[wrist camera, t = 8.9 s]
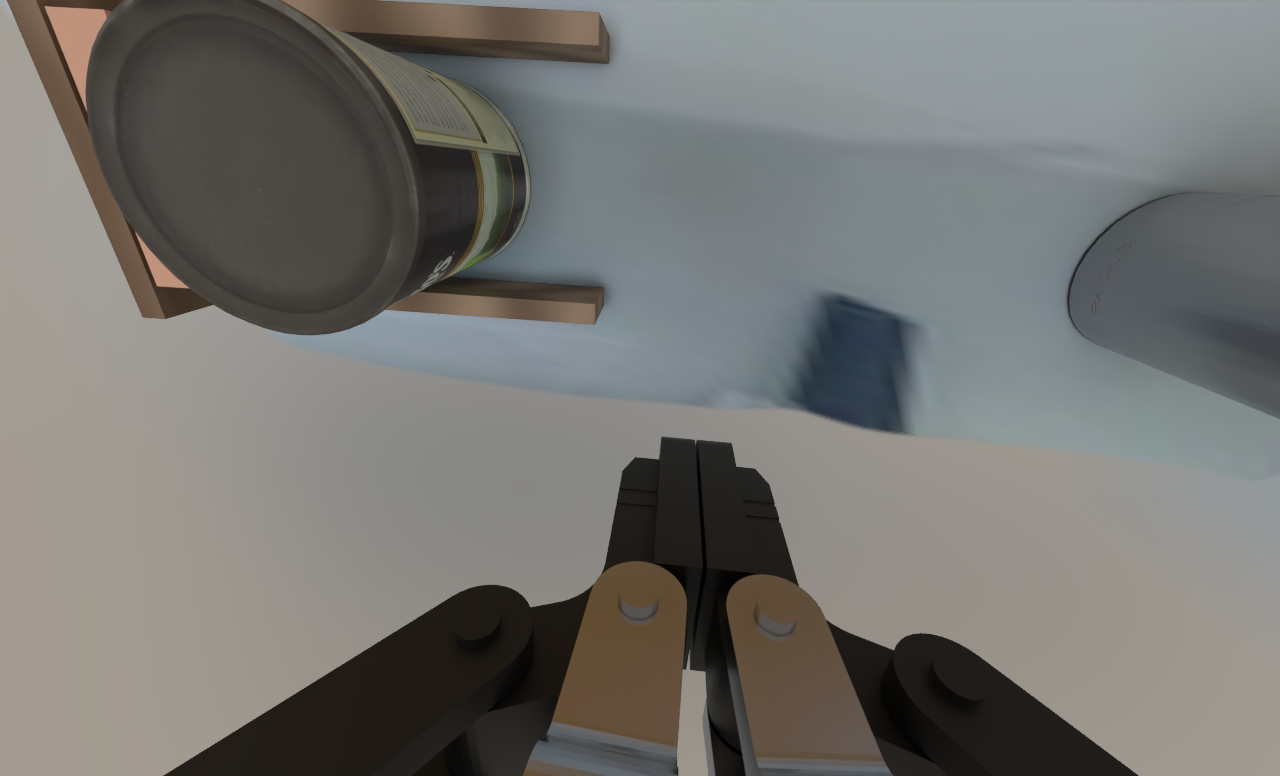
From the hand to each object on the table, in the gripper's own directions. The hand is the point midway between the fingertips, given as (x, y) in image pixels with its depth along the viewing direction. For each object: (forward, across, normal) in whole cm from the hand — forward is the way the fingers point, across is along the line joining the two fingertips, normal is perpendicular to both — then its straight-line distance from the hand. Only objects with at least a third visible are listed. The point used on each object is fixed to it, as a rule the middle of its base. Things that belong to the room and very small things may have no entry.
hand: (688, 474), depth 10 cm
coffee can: (+21, +14, -5) cm, 26 cm away
